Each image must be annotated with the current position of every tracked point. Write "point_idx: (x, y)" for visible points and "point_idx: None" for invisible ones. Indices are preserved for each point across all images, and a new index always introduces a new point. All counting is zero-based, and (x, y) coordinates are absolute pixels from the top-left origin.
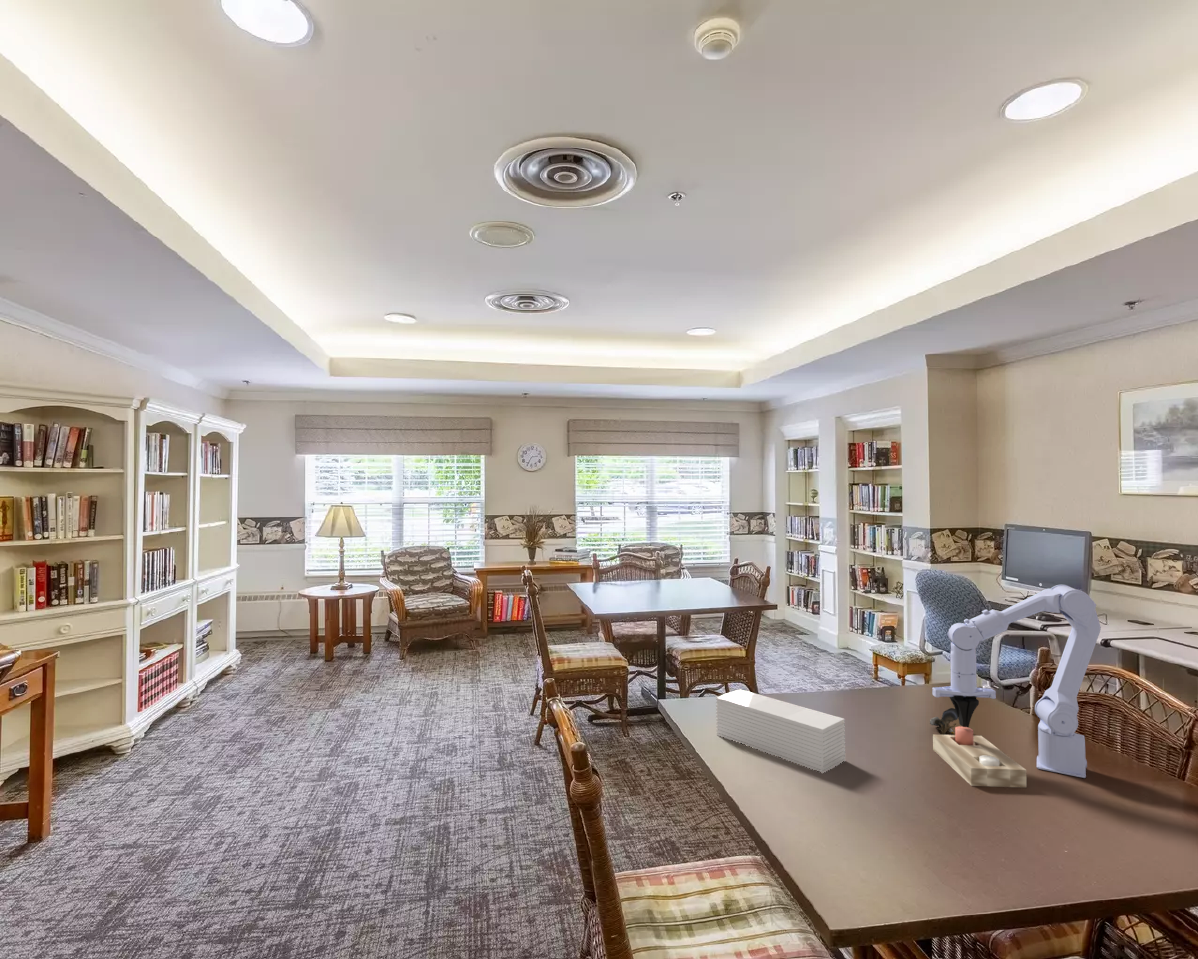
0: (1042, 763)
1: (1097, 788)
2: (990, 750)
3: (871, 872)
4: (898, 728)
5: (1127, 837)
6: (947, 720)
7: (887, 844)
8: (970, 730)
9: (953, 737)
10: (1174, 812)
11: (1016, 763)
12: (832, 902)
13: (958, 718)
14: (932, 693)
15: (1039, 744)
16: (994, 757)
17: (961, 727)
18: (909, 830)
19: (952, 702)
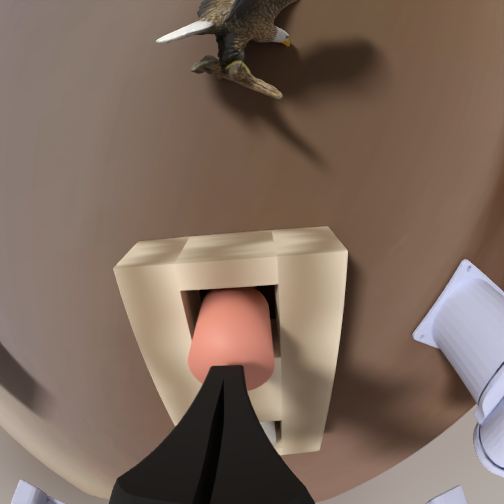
0: (434, 328)
1: (443, 383)
2: (297, 386)
3: (91, 483)
4: (76, 42)
5: (349, 473)
6: (271, 3)
7: (93, 473)
8: (257, 374)
9: (198, 288)
10: (462, 410)
11: (319, 434)
12: (80, 487)
13: (201, 388)
14: (19, 486)
15: (463, 349)
16: (271, 436)
17: (224, 347)
18: (106, 469)
19: (146, 462)
